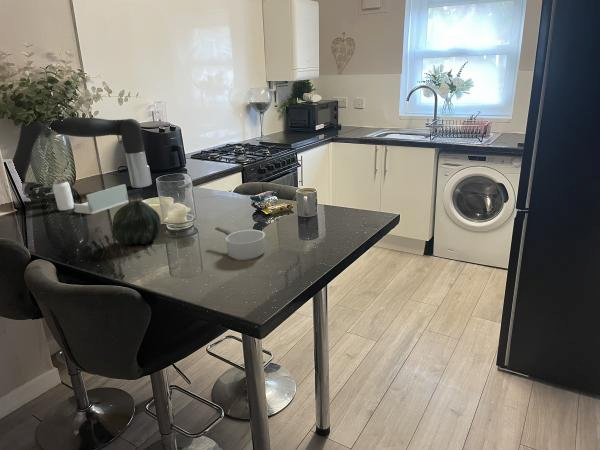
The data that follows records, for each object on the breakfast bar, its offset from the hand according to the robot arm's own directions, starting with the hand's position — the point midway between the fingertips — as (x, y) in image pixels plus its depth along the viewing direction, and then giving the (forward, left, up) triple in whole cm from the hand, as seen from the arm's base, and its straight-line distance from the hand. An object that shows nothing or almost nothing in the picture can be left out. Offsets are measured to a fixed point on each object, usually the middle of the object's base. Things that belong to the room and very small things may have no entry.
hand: (54, 192), depth 198 cm
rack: (-7, +21, -7) cm, 23 cm away
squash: (+20, +73, -7) cm, 77 cm away
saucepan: (+16, +110, -7) cm, 111 cm away
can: (0, +6, -7) cm, 10 cm away
